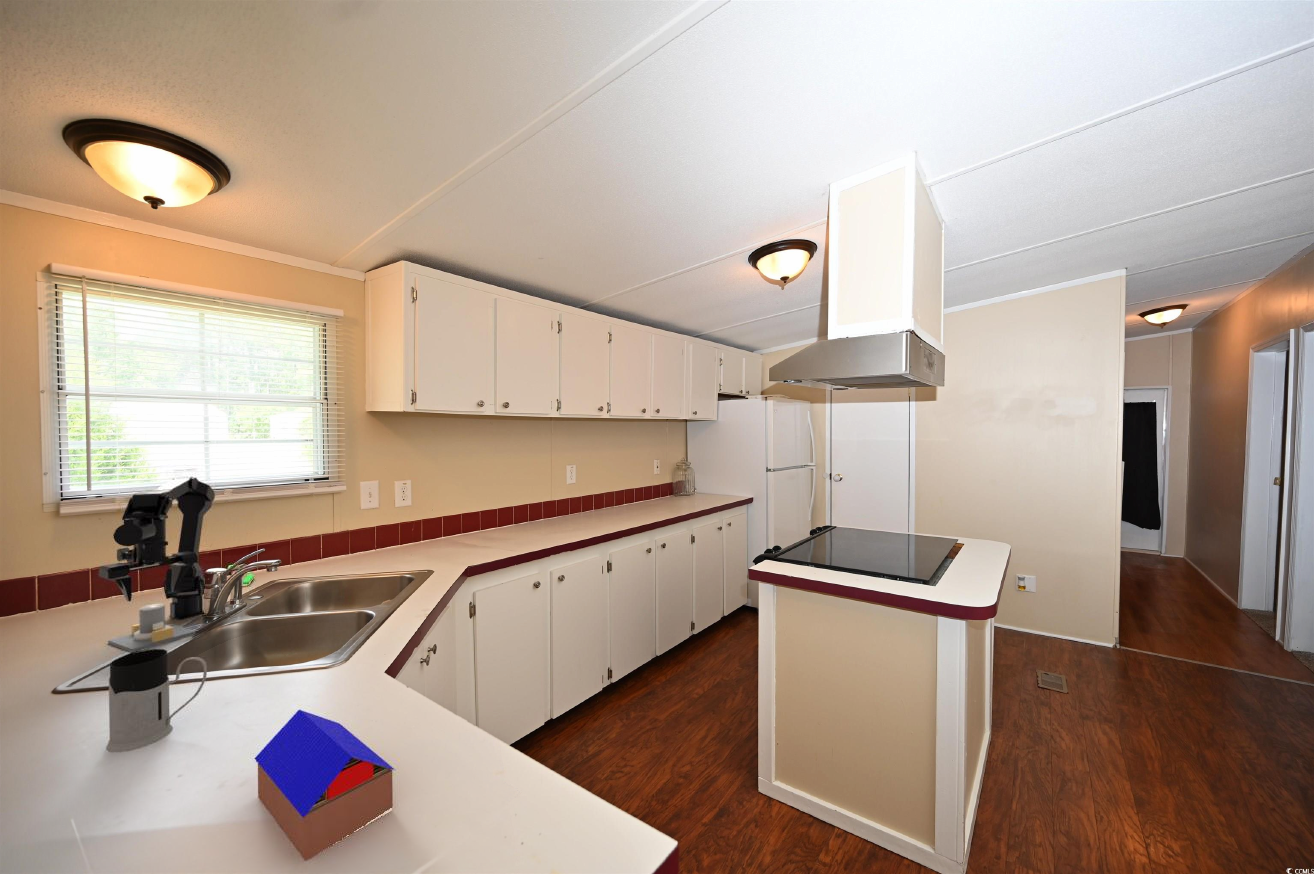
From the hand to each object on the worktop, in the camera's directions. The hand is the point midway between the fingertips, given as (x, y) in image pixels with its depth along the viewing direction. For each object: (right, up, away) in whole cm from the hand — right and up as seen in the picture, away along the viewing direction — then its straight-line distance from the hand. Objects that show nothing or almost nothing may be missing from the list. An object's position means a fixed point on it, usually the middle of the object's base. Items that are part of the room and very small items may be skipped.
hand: (151, 596), depth 139 cm
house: (+86, -14, -61) cm, 106 cm away
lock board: (0, -12, 0) cm, 12 cm away
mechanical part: (-16, -11, +50) cm, 54 cm away
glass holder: (+44, -13, -43) cm, 62 cm away
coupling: (0, -9, 0) cm, 9 cm away
